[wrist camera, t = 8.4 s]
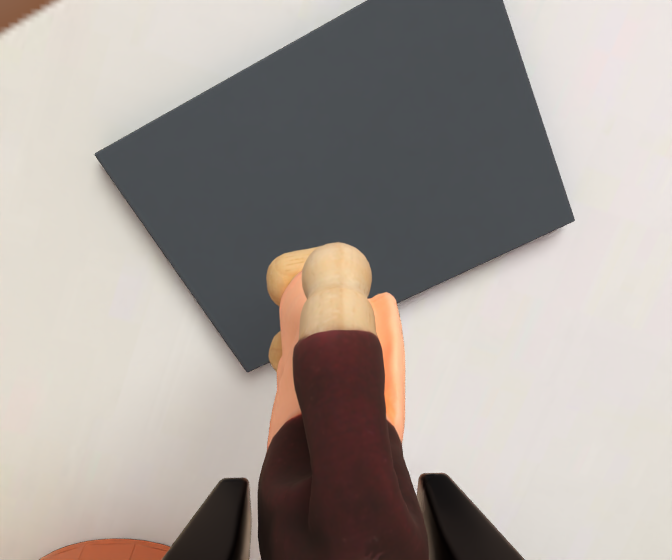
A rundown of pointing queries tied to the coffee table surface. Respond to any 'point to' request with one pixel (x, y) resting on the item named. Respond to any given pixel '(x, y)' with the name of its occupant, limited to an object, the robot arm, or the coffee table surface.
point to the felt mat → (349, 161)
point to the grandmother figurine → (336, 417)
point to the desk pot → (110, 550)
